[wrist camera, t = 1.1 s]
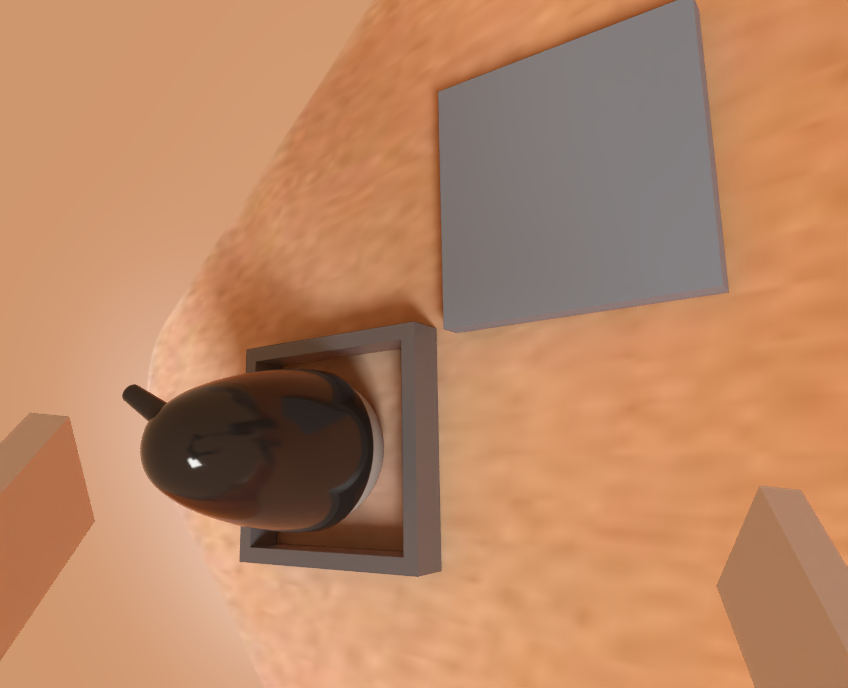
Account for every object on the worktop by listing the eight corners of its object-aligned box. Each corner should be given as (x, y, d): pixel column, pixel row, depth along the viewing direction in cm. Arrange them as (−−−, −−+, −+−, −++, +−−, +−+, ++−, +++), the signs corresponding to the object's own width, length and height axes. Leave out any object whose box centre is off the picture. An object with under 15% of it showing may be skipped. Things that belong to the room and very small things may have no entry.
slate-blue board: (449, 102, 45) (438, 91, 44) (698, 9, 37) (692, -6, 36) (456, 332, 42) (443, 328, 41) (728, 292, 34) (723, 285, 33)
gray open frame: (271, 354, 52) (246, 349, 49) (436, 328, 43) (414, 321, 41) (266, 557, 49) (239, 561, 47) (441, 571, 41) (418, 576, 38)
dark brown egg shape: (336, 347, 48) (146, 306, 35) (435, 432, 42) (249, 419, 30) (271, 463, 50) (69, 463, 37) (357, 560, 44) (152, 597, 32)
